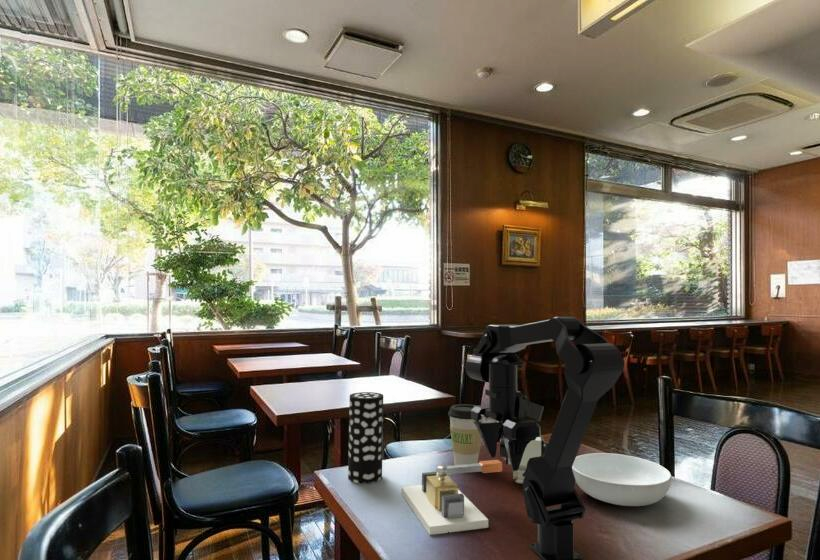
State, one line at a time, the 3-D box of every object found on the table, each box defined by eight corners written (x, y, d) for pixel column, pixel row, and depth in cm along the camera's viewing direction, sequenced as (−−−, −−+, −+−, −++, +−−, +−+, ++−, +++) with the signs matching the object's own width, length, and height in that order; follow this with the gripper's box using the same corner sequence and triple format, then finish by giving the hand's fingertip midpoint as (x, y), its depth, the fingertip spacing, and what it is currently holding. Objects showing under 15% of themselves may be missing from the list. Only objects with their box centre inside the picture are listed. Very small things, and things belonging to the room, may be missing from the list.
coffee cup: (442, 459, 134) (442, 404, 135) (474, 456, 137) (475, 403, 138) (456, 472, 125) (456, 412, 125) (490, 468, 128) (491, 410, 128)
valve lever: (438, 482, 102) (438, 468, 102) (435, 478, 104) (435, 464, 104) (502, 476, 106) (502, 462, 106) (497, 472, 108) (497, 459, 108)
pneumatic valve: (549, 487, 115) (550, 436, 116) (499, 483, 118) (499, 433, 118) (548, 479, 121) (548, 430, 121) (500, 475, 123) (500, 427, 124)
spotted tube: (341, 479, 119) (342, 396, 119) (360, 469, 126) (361, 391, 127) (370, 486, 115) (371, 400, 116) (388, 475, 122) (389, 394, 123)
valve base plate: (488, 527, 95) (488, 519, 95) (429, 535, 91) (429, 526, 91) (451, 488, 114) (451, 482, 114) (401, 493, 111) (401, 486, 111)
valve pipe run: (467, 517, 96) (467, 494, 96) (444, 519, 94) (444, 497, 95) (439, 486, 111) (439, 467, 111) (419, 488, 110) (419, 469, 110)
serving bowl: (569, 476, 123) (569, 448, 124) (661, 487, 117) (661, 458, 117) (570, 510, 103) (570, 476, 104) (681, 525, 97) (681, 490, 97)
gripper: (564, 391, 94) (565, 474, 93) (514, 378, 112) (514, 447, 111) (512, 394, 91) (513, 480, 90) (469, 380, 108) (470, 452, 107)
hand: (503, 463), depth 99 cm, fingers open, 9 cm apart
